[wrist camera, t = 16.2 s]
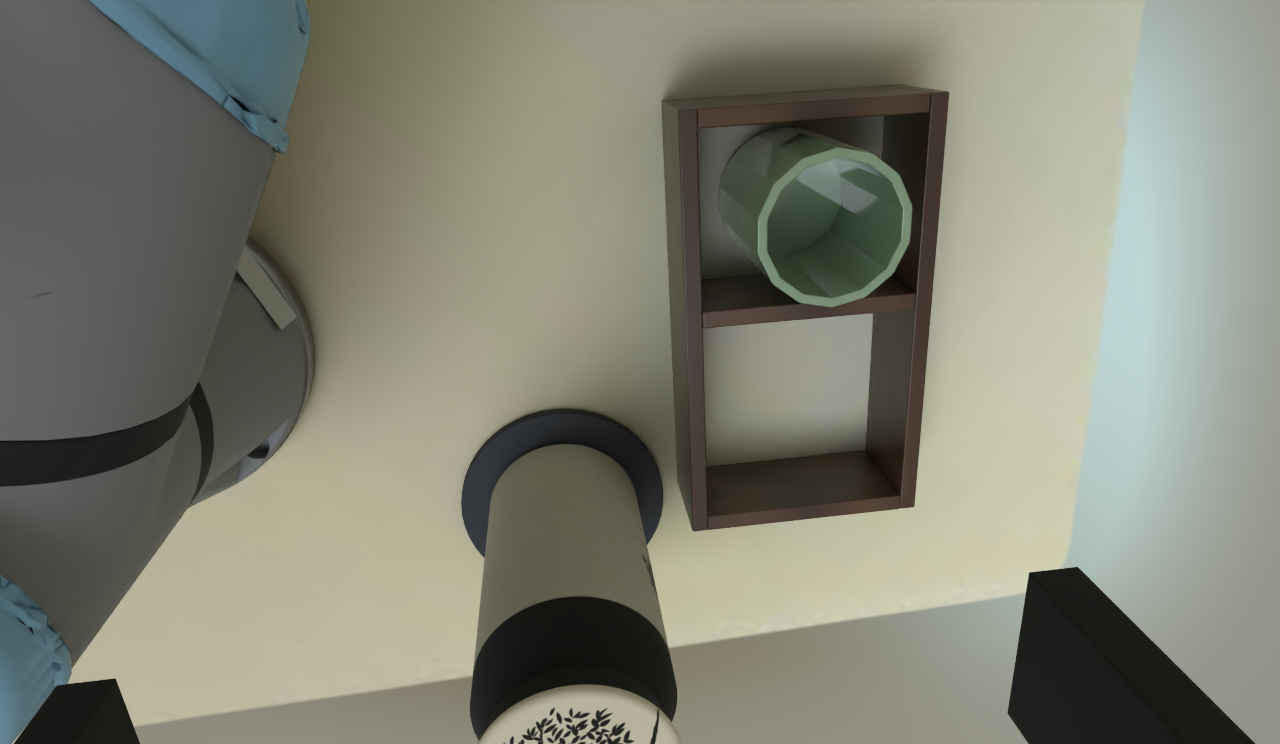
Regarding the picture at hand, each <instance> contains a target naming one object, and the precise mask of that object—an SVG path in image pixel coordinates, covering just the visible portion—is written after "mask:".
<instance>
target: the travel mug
mask: <svg viewBox="0 0 1280 744" xmlns="http://www.w3.org/2000/svg"><path fill="white" fill-rule="evenodd" d="M472 681H473V682H472V690H471V700H470V717H471V722H472V725H473V729H474V732H475V734H476V736H477V738H478V740H479V743H478V744H682V743H681V740H680V737H679V735H678V732H677V730H676V729H675V727H674V725H673V724H672V720H673V717H674V714H675V710H676V705H677V687H676V681H675V677H674V672H673V667H672V663H671V658H670V653H669V648H668V644H667V639H666V634H665V629H664V625H663V620H662V615H661V611H660V606H659V601H658V596H657V592H656V587H655V582H654V577H653V573H652V568H651V563H650V559H649V554H648V549H647V544H646V540H645V535H644V530H643V526H642V521H641V516H640V511H639V507H638V502H637V497H636V492H635V489H634V486H633V484H632V481H631V479H630V478H629V476H628V474H627V473H626V472H625V470H624V469H623V468H622V467H621V466H620V465H619V464H618V463H617V462H616V461H615V460H614V459H612V458H611V457H609V456H608V455H606V454H604V453H602V452H600V451H598V450H596V449H593V448H590V447H586V446H582V445H575V444H557V445H550V446H545V447H542V448H539V449H536V450H533V451H531V452H529V453H527V454H525V455H523V456H522V457H520V458H519V459H517V460H516V461H515V462H513V463H512V464H511V465H510V466H509V467H508V468H507V469H506V470H505V471H504V472H503V474H502V475H501V477H500V478H499V480H498V481H497V483H496V485H495V488H494V490H493V493H492V496H491V502H490V511H489V521H488V531H487V541H486V551H485V561H484V571H483V581H482V590H481V600H480V610H479V620H478V630H477V640H476V650H475V660H474V670H473V680H472Z"/></svg>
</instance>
